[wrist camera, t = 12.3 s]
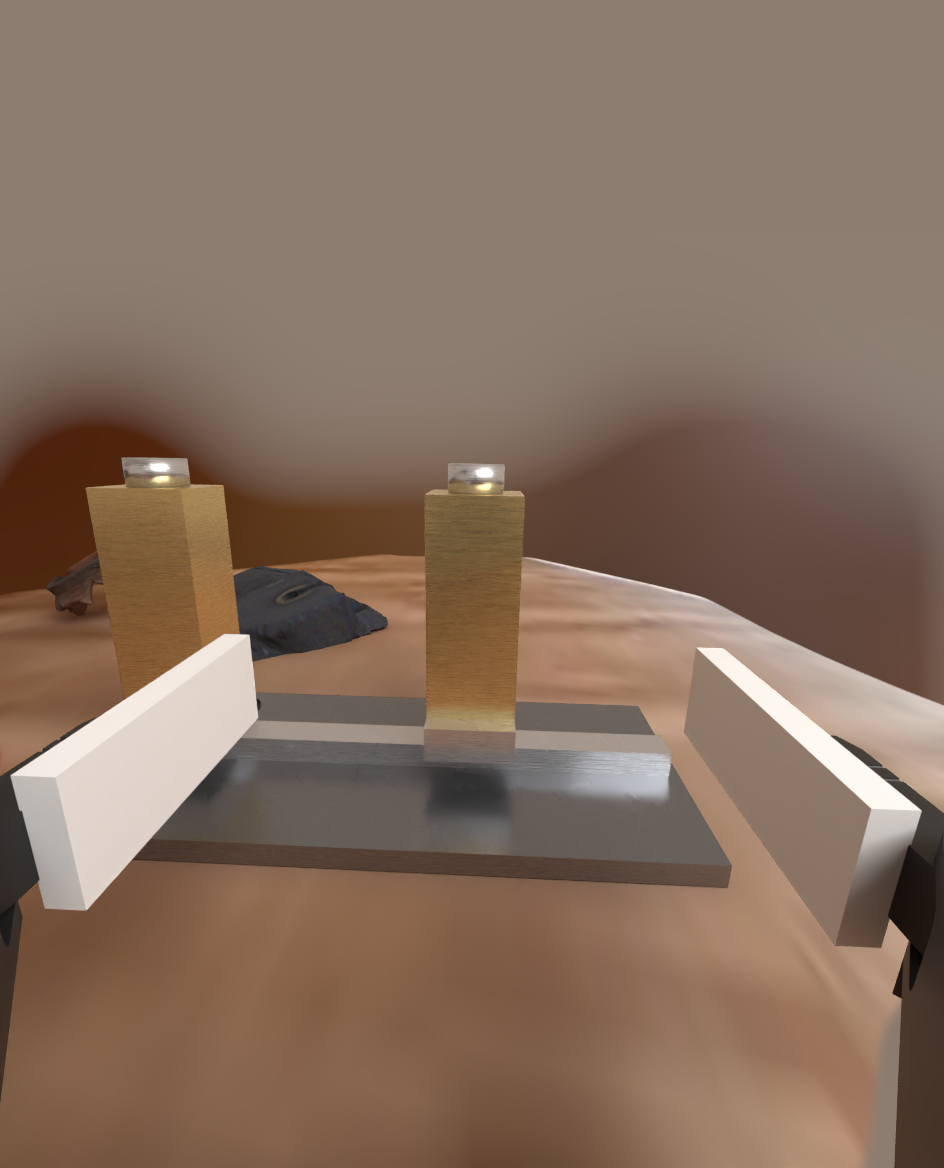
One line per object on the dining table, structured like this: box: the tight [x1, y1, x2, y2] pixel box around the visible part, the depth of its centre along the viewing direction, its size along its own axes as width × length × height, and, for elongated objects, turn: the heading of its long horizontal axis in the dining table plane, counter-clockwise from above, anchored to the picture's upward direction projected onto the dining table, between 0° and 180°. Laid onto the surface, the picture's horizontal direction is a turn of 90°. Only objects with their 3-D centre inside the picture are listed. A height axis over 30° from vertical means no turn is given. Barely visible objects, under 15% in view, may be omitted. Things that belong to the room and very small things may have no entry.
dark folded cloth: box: [233, 566, 388, 661], centre depth 48 cm, size 15×22×5 cm
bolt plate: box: [86, 458, 732, 887], centre depth 23 cm, size 26×12×15 cm, turn 88°
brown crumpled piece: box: [46, 551, 103, 616], centre depth 48 cm, size 12×10×8 cm
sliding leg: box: [424, 464, 525, 765], centre depth 23 cm, size 4×7×14 cm, turn 178°
